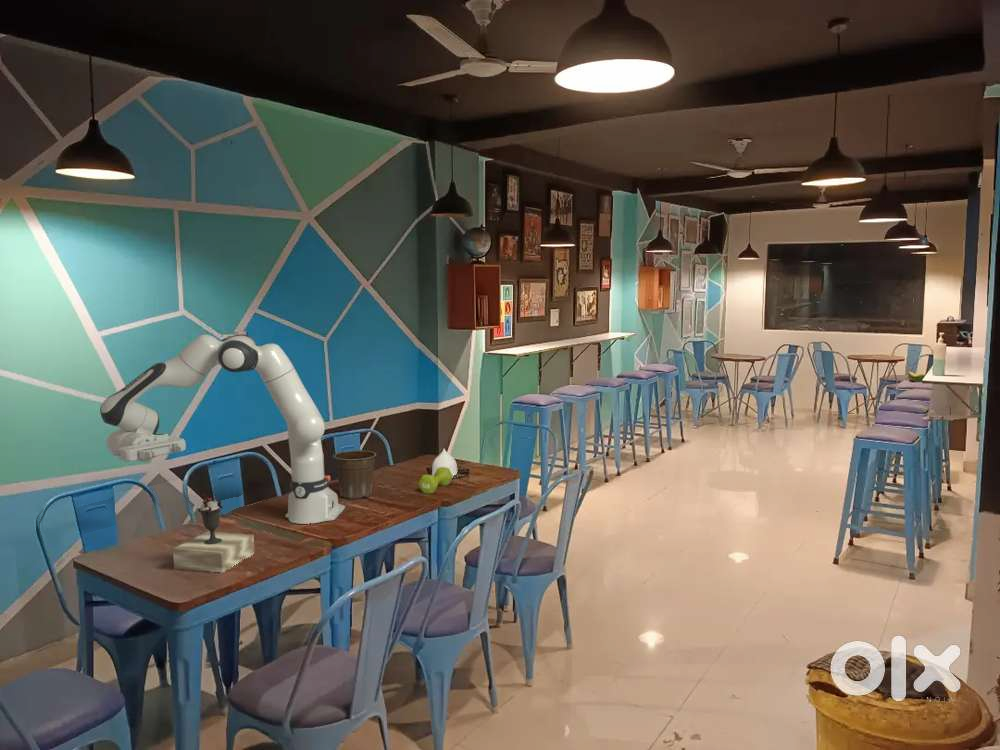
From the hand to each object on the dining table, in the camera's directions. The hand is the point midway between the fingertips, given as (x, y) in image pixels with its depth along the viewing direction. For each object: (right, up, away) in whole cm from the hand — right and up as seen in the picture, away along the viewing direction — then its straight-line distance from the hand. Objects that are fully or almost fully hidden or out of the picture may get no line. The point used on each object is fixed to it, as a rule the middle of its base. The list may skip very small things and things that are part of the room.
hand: (166, 452), depth 234 cm
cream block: (+20, -31, -11) cm, 39 cm away
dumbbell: (+78, -22, +66) cm, 105 cm away
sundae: (+19, -25, -12) cm, 34 cm away
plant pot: (+48, -23, +58) cm, 79 cm away
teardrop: (+80, -19, +87) cm, 120 cm away
